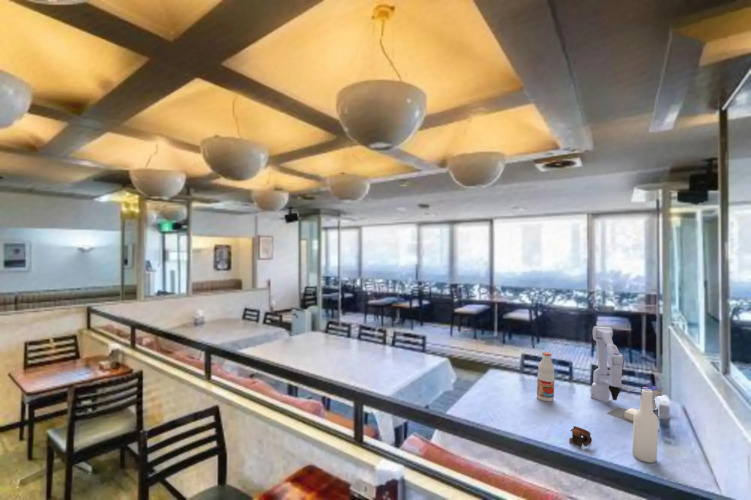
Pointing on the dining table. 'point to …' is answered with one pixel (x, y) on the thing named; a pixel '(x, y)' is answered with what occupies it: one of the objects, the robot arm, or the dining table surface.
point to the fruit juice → (545, 378)
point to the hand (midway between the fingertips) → (614, 399)
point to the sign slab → (630, 414)
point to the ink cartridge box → (655, 391)
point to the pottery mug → (578, 439)
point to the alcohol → (645, 430)
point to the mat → (619, 413)
